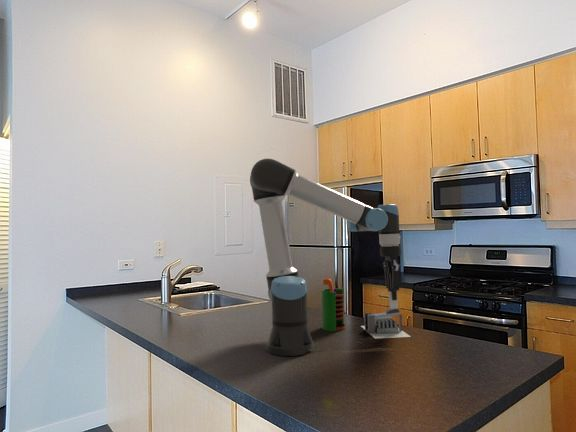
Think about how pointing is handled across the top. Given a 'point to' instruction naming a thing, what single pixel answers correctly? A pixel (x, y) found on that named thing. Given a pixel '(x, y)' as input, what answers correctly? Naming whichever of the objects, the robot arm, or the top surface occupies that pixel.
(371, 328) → the mount
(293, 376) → the top surface
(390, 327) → the heatsink
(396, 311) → the grey-blue slender bar
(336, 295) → the motor
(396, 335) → the board
